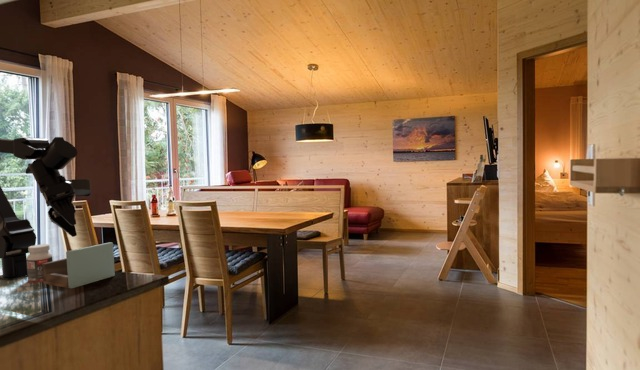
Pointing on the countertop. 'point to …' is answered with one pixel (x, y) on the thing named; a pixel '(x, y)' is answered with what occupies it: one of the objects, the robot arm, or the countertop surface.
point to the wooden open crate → (56, 273)
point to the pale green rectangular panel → (90, 264)
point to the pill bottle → (37, 262)
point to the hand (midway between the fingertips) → (74, 230)
